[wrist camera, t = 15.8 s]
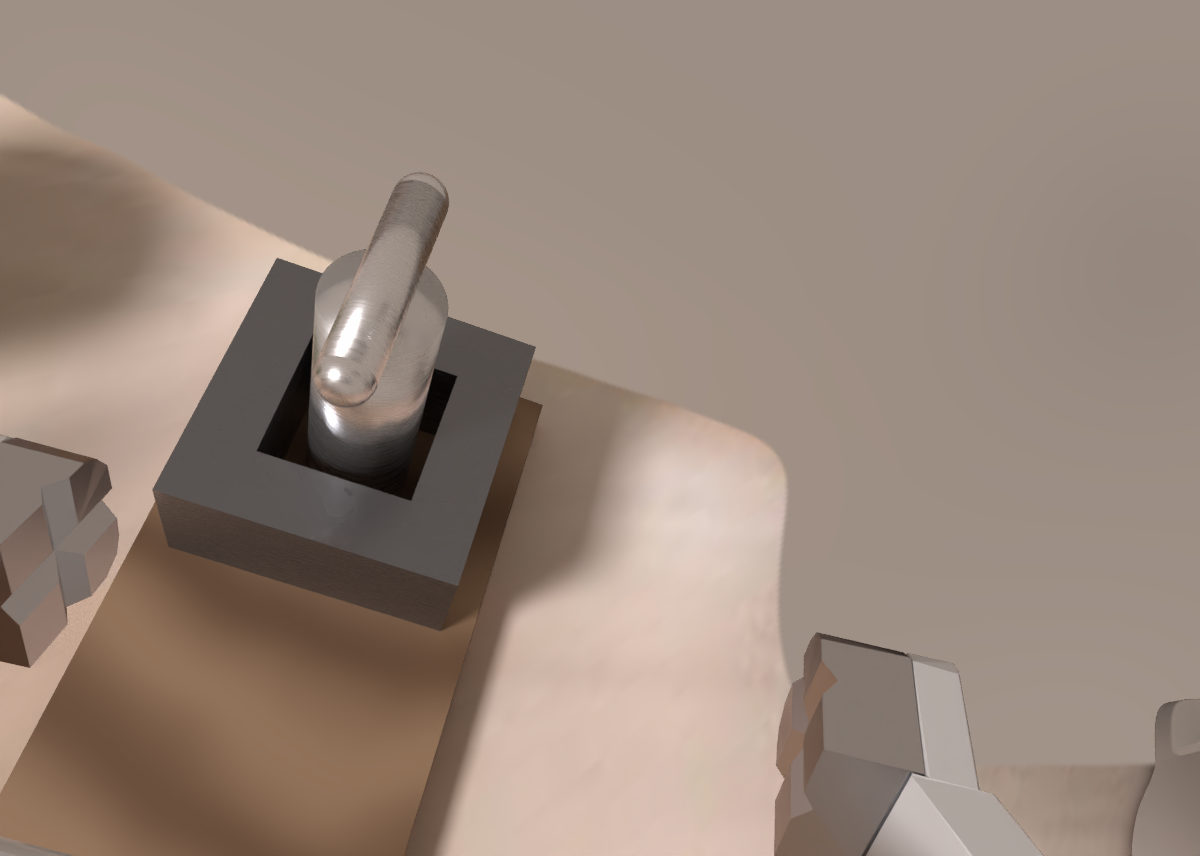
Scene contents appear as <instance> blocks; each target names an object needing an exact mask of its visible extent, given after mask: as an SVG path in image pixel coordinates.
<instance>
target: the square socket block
mask: <svg viewBox="0 0 1200 856" xmlns="http://www.w3.org/2000/svg"><path fill="white" fill-rule="evenodd" d="M322 274H323V273H320V272H317V271H314V270H311V269H308V268H305V267H302V266H299V265H296V264H294V263H291V262H288V261H285V260H282V259H279V258H277V259H276V261H275V262H274V264H273V266H272V268H271V270H270V272H269V274H268V275H267V277H266V279H265V281H264V283H263V285H262V287H261V288H260V290H259V292H258V294H257V296H256V298H255V300H254V301H253V303H252V305H251V307H250V309H249V311H248V313H247V315H246V316H245V318H244V320H243V322H242V324H241V326H240V328H239V329H238V331H237V333H236V335H235V337H234V339H233V341H232V342H231V344H230V346H229V348H228V350H227V352H226V354H225V355H224V357H223V359H222V361H221V363H220V365H219V367H218V369H217V370H216V372H215V374H214V376H213V378H212V380H211V382H210V383H209V385H208V387H207V389H206V391H205V393H204V395H203V396H202V398H201V400H200V402H199V404H198V406H197V408H196V409H195V411H194V413H193V415H192V417H191V419H190V421H189V423H188V424H187V426H186V428H185V430H184V432H183V434H182V436H181V437H180V439H179V441H178V443H177V445H176V447H175V449H174V450H173V452H172V454H171V456H170V458H169V460H168V462H167V463H166V465H165V467H164V469H163V471H162V473H161V475H160V477H159V478H158V480H157V482H156V484H155V486H154V488H153V494H154V497H155V501H156V504H157V508H158V511H159V515H160V518H161V522H162V526H163V529H164V533H165V536H166V540H167V543H168V547H170V548H173V549H177V550H180V551H183V552H186V553H190V554H193V555H196V556H199V557H202V558H206V559H209V560H212V561H215V562H219V563H222V564H225V565H228V566H232V567H235V568H238V569H241V570H244V571H248V572H251V573H254V574H257V575H261V576H264V577H267V578H270V579H273V580H277V581H280V582H283V583H286V584H290V585H293V586H296V587H299V588H302V589H306V590H309V591H312V592H315V593H319V594H322V595H325V596H328V597H331V598H335V599H338V600H341V601H344V602H348V603H351V604H354V605H357V606H361V607H364V608H367V609H370V610H373V611H377V612H380V613H383V614H386V615H390V616H393V617H396V618H399V619H402V620H406V621H409V622H412V623H415V624H419V625H422V626H425V627H428V628H431V629H435V630H438V631H441V628H442V626H443V623H444V621H445V618H446V616H447V613H448V611H449V608H450V605H451V603H452V600H453V598H454V595H455V593H456V590H457V588H458V585H459V582H460V579H461V576H462V573H463V570H464V566H465V563H466V560H467V557H468V554H469V551H470V548H471V545H472V542H473V539H474V536H475V533H476V530H477V526H478V523H479V520H480V517H481V514H482V511H483V508H484V505H485V502H486V499H487V496H488V493H489V489H490V486H491V483H492V480H493V477H494V474H495V471H496V468H497V465H498V462H499V459H500V456H501V453H502V449H503V446H504V443H505V440H506V437H507V434H508V431H509V428H510V425H511V422H512V419H513V416H514V413H515V409H516V406H517V403H518V400H519V397H520V394H521V391H522V388H523V385H524V382H525V379H526V376H527V373H528V369H529V366H530V363H531V360H532V357H533V354H534V351H535V348H536V347H534V346H531V345H528V344H525V343H523V342H520V341H517V340H514V339H511V338H508V337H505V336H502V335H499V334H496V333H493V332H491V331H488V330H485V329H482V328H479V327H476V326H473V325H470V324H468V323H465V322H462V321H458V320H456V319H453V318H450V317H447V319H446V323H445V327H444V331H443V335H442V339H441V343H440V347H439V351H438V355H437V359H436V363H435V367H434V371H433V375H432V379H431V383H430V387H429V391H428V395H427V399H426V403H425V407H424V411H423V415H422V419H421V423H420V426H419V430H420V431H423V432H426V433H429V434H432V435H435V438H434V441H433V444H432V446H431V449H430V452H429V454H428V457H427V460H426V463H425V465H424V468H423V471H422V473H421V476H420V479H419V481H418V484H417V487H416V489H415V492H414V495H413V498H412V500H411V501H409V500H406V499H403V498H400V497H397V496H394V495H391V494H388V493H385V492H381V491H378V490H375V489H372V488H369V487H366V486H363V485H360V484H357V483H354V482H351V481H347V480H344V479H341V478H338V477H335V476H332V475H329V474H326V473H323V472H320V471H317V470H313V469H310V468H307V467H304V466H301V465H298V464H295V463H292V462H289V461H286V460H284V458H285V456H286V454H287V452H288V450H289V448H290V445H291V443H292V441H293V439H294V437H295V435H296V433H297V430H298V428H299V426H300V424H301V422H302V420H303V417H304V415H305V413H306V411H307V409H308V407H309V401H310V383H311V366H312V348H313V331H314V313H315V295H316V288H317V284H318V282H319V279H320V277H321V276H322Z"/></svg>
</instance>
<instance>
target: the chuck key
mask: <svg viewBox="0 0 1200 856" xmlns="http://www.w3.org/2000/svg"><path fill="white" fill-rule="evenodd" d="M448 207H449V197H448V193H447V190H446V188H445V187H444V185H443V184H442V182H441V181H440V180H439V179H437V178H436V177H434V176H433V175H430V174H428V173H423V172H416V173H411V174H409V175H406V176H404V177H403V178H402V179H401V180H400V181H399V182H398V183H397V184H396V186H395V188H394V190H393V192H392V194H391V197H390V199H389V201H388V203H387V205H386V208H385V210H384V212H383V214H382V217H381V219H380V221H379V223H378V225H377V228H376V230H375V232H374V235H373V237H372V239H371V241H370V243H369V245H368V248H367V249H364V250H359V251H355V252H352V253H349V254H346V255H344V256H342V257H340V258H339V259H337V260H336V261H334V262H333V263H332V264H331V265H330V266H328V267H327V269H326V270H325V271H324V272H323V274H322V276H321V277H320V279H319V282H318V284H317V288H316V295H315V313H314V331H313V348H312V366H311V383H310V401H309V418H308V436H307V453H306V467H307V468H310V469H313V470H317V471H320V472H323V473H326V474H329V475H332V476H335V477H338V478H341V479H344V480H347V481H351V482H354V483H357V484H360V485H363V486H366V487H369V488H372V489H375V490H378V491H381V492H385V493H388V494H391V495H394V496H397V497H399V496H400V495H401V493H402V491H403V489H404V486H405V482H406V478H407V474H408V470H409V466H410V462H411V458H412V454H413V450H414V446H415V442H416V438H417V434H418V430H419V426H420V423H421V419H422V415H423V411H424V407H425V403H426V399H427V395H428V391H429V387H430V383H431V379H432V375H433V371H434V367H435V363H436V359H437V355H438V351H439V347H440V343H441V339H442V335H443V331H444V327H445V323H446V319H447V316H448V300H447V295H446V292H445V289H444V287H443V286H442V283H441V282H440V280H439V279H438V277H437V276H436V275H435V274H434V273H433V272H432V271H431V270H430V269H429V268H428V267H427V266H426V264H427V262H428V259H429V257H430V254H431V252H432V249H433V247H434V244H435V242H436V239H437V237H438V234H439V232H440V229H441V227H442V224H443V222H444V219H445V217H446V214H447V212H448Z"/></svg>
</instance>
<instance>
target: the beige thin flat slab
mask: <svg viewBox="0 0 1200 856" xmlns="http://www.w3.org/2000/svg"><path fill="white" fill-rule="evenodd" d="M541 409H542V405H541V404H538V403H535V402H532V401H529V400H526V399H523V398H520V397H519V400H518V403H517V406H516V409H515V413H514V416H513V419H512V422H511V425H510V428H509V431H508V434H507V437H506V440H505V443H504V446H503V449H502V453H501V456H500V459H499V462H498V465H497V468H496V471H495V474H494V477H493V480H492V483H491V486H490V489H489V493H488V496H487V499H486V502H485V505H484V508H483V511H482V514H481V517H480V520H479V523H478V526H477V530H476V533H475V536H474V539H473V542H472V545H471V548H470V551H469V554H468V557H467V560H466V563H465V566H464V570H463V573H462V576H461V579H460V582H459V585H458V588H457V590H456V593H455V595H454V598H453V600H452V603H451V605H450V608H449V611H448V613H447V616H446V618H445V621H444V623H443V626H442V628H441V631H438V630H435V629H431V628H428V627H425V626H422V625H419V624H415V623H412V622H409V621H406V620H402V619H399V618H396V617H393V616H390V615H386V614H383V613H380V612H377V611H373V610H370V609H367V608H364V607H361V606H357V605H354V604H351V603H348V602H344V601H341V600H338V599H335V598H331V597H328V596H325V595H322V594H319V593H315V592H312V591H309V590H306V589H302V588H299V587H296V586H293V585H290V584H286V583H283V582H280V581H277V580H273V579H270V578H267V577H264V576H261V575H257V574H254V573H251V572H248V571H244V570H241V569H238V568H235V567H232V566H228V565H225V564H222V563H219V562H215V561H212V560H209V559H206V558H202V557H199V556H196V555H193V554H190V553H186V552H183V551H180V550H177V549H173V548H170V547H168V543H167V540H166V536H165V533H164V529H163V526H162V522H161V518H160V515H159V511H158V508H157V504H156V502H155V504H154V505H153V507H152V509H151V511H150V513H149V515H148V517H147V519H146V521H145V522H144V524H143V526H142V528H141V530H140V532H139V534H138V536H137V537H136V539H135V541H134V543H133V545H132V547H131V549H130V551H129V553H128V554H127V556H126V558H125V560H124V562H123V564H122V566H121V568H120V569H119V571H118V573H117V575H116V577H115V579H114V581H113V583H112V585H111V586H110V588H109V590H108V592H107V594H106V596H105V598H104V600H103V602H102V603H101V605H100V607H99V609H98V611H97V613H96V615H95V617H94V618H93V620H92V622H91V624H90V626H89V628H88V630H87V632H86V634H85V635H84V637H83V639H82V641H81V643H80V645H79V647H78V649H77V650H76V652H75V654H74V656H73V658H72V660H71V662H70V664H69V666H68V667H67V669H66V671H65V673H64V675H63V677H62V679H61V681H60V682H59V684H58V686H57V688H56V690H55V692H54V694H53V696H52V698H51V699H50V701H49V703H48V705H47V707H46V709H45V711H44V713H43V714H42V716H41V718H40V720H39V722H38V724H37V726H36V728H35V730H34V731H33V733H32V735H31V737H30V739H29V741H28V743H27V745H26V746H25V748H24V750H23V752H22V754H21V756H20V758H19V760H18V762H17V763H16V765H15V767H14V769H13V771H12V773H11V775H10V777H9V778H8V780H7V782H6V784H5V786H4V788H3V790H2V792H1V794H0V836H1V837H5V838H9V839H13V840H16V841H20V842H24V843H28V844H32V845H36V846H39V847H43V848H47V849H51V850H55V851H59V852H62V853H66V854H70V855H74V856H404V854H405V850H406V847H407V844H408V841H409V837H410V834H411V831H412V828H413V824H414V821H415V818H416V815H417V811H418V808H419V805H420V802H421V798H422V795H423V792H424V789H425V785H426V782H427V779H428V776H429V772H430V769H431V766H432V763H433V759H434V756H435V753H436V750H437V746H438V743H439V740H440V737H441V733H442V730H443V727H444V724H445V720H446V717H447V714H448V711H449V707H450V704H451V701H452V698H453V694H454V691H455V688H456V685H457V681H458V678H459V675H460V672H461V668H462V665H463V662H464V659H465V655H466V652H467V649H468V646H469V642H470V639H471V636H472V633H473V629H474V626H475V623H476V620H477V616H478V613H479V610H480V607H481V603H482V600H483V597H484V594H485V590H486V587H487V584H488V581H489V577H490V574H491V571H492V568H493V564H494V561H495V558H496V555H497V551H498V548H499V545H500V542H501V538H502V535H503V532H504V529H505V525H506V522H507V519H508V516H509V512H510V509H511V506H512V503H513V499H514V496H515V493H516V490H517V487H518V483H519V480H520V477H521V474H522V470H523V467H524V464H525V461H526V457H527V454H528V451H529V448H530V444H531V441H532V438H533V435H534V431H535V428H536V425H537V422H538V418H539V415H540V412H541ZM308 418H309V407H308V409H307V411H306V413H305V415H304V417H303V420H302V422H301V424H300V426H299V428H298V430H297V433H296V435H295V437H294V439H293V441H292V443H291V445H290V448H289V450H288V452H287V454H286V456H285V458H284V460H286V461H289V462H292V463H295V464H298V465H301V466H304V467H306V453H307V436H308ZM434 438H435V435H432V434H429V433H426V432H423V431H420V430H418V434H417V438H416V442H415V446H414V450H413V454H412V458H411V462H410V466H409V470H408V474H407V478H406V482H405V486H404V489H403V491H402V493H401V495H400V496H399V497H400V498H403V499H406V500H409V501H411V500H412V498H413V495H414V492H415V489H416V487H417V484H418V481H419V479H420V476H421V473H422V471H423V468H424V465H425V463H426V460H427V457H428V454H429V452H430V449H431V446H432V444H433V441H434Z"/></svg>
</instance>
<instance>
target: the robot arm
mask: <svg viewBox="0 0 1200 856" xmlns="http://www.w3.org/2000/svg"><path fill="white" fill-rule="evenodd" d="M111 489H112V486H111V481H110V476H109V472H108V467H107V465H106V464H104V463H102V462H101V461H99V460H97V459H94V458H90V457H87V456H83V455H79V454H75V453H72V452H68V451H64V450H61V449H57V448H53V447H49V446H46V445H42V444H38V443H34V442H31V441H27V440H23V439H19V438H12V437H8V436H4V435H1V434H0V661H2V662H6V663H11V664H15V665H20V666H24V667H29V668H31V666H32V665H33V664H34V663H35V662H36V661H37V659H38V658H39V657H40V656H41V655H42V654H43V652H44V651H45V650H46V649H47V648H48V647H49V645H50V644H51V643H52V642H53V641H54V640H55V638H56V637H57V636H58V635H59V634H60V633H61V631H62V630H63V629H64V628H65V627H66V625H67V609H66V607H67V606H70V605H72V604H74V603H76V602H79V601H81V600H83V599H86V598H88V597H90V596H92V595H93V594H94V592H95V591H96V590H97V589H98V587H99V586H100V585H101V584H102V582H103V581H104V580H105V579H106V577H107V575H108V573H109V571H110V568H111V566H112V564H113V561H114V559H115V557H116V554H117V548H118V539H119V531H118V524H117V518H116V517H115V515H114V514H113V513H112V512H111V511H110V509H109V508H108V507H107V506H106V505H105V503H104V502H103V501H102V499H103V498H104V496H105V495H106V494H107V493H108V492H109V491H110V490H111ZM1155 756H1156V763H1155V768H1154V772H1153V775H1152V778H1151V780H1150V782H1149V785H1148V787H1147V789H1146V791H1145V794H1144V796H1143V798H1142V800H1141V803H1140V806H1139V809H1138V812H1137V816H1136V820H1135V826H1134V831H1133V840H1132V856H1200V699H1185V700H1180V701H1174V702H1169V703H1166V704H1163V705H1162V706H1161V707H1160V709H1159V710H1158V713H1157V716H1156V724H1155ZM776 766H777V768H778V769H779V771H780V772H781V774H782V775H783V777H784V778H785V779H784V782H783V784H782V786H781V789H780V791H779V793H778V796H777V798H776V800H775V839H774V856H1043V854H1042V853H1041V852H1040V851H1039V849H1038V848H1037V847H1036V846H1035V844H1034V843H1033V842H1032V841H1031V840H1030V838H1029V837H1028V836H1027V835H1026V833H1025V832H1024V831H1023V830H1022V828H1021V827H1020V826H1019V825H1018V823H1017V822H1016V821H1015V820H1014V818H1013V817H1012V816H1011V815H1010V813H1009V812H1008V811H1007V810H1006V809H1005V807H1004V806H1003V805H1002V804H1001V802H1000V801H999V800H998V799H997V797H996V796H995V795H994V794H992V793H988V792H985V791H981V790H980V789H979V783H978V777H977V772H976V766H975V760H974V755H973V749H972V743H971V738H970V732H969V726H968V721H967V715H966V710H965V704H964V698H963V692H962V687H961V681H960V675H959V671H958V670H957V668H956V667H955V665H954V664H953V663H949V662H944V661H940V660H936V659H931V658H927V657H923V656H918V655H914V654H909V653H907V654H905V653H903V652H899V651H895V650H891V649H886V648H882V647H878V646H873V645H869V644H864V643H860V642H856V641H852V640H847V639H843V638H839V637H834V636H830V635H826V634H822V633H816V634H815V635H814V637H813V638H812V639H811V641H810V643H809V645H808V648H807V650H806V652H805V654H804V677H803V678H801V679H799V680H797V681H796V682H794V683H792V686H791V689H790V691H789V694H788V697H787V699H786V702H785V705H784V710H783V714H782V718H781V722H780V726H779V734H778V742H777V760H776ZM0 856H74V855H70V854H66V853H62V852H59V851H55V850H51V849H47V848H43V847H39V846H36V845H32V844H28V843H24V842H20V841H16V840H13V839H9V838H5V837H1V836H0Z"/></svg>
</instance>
